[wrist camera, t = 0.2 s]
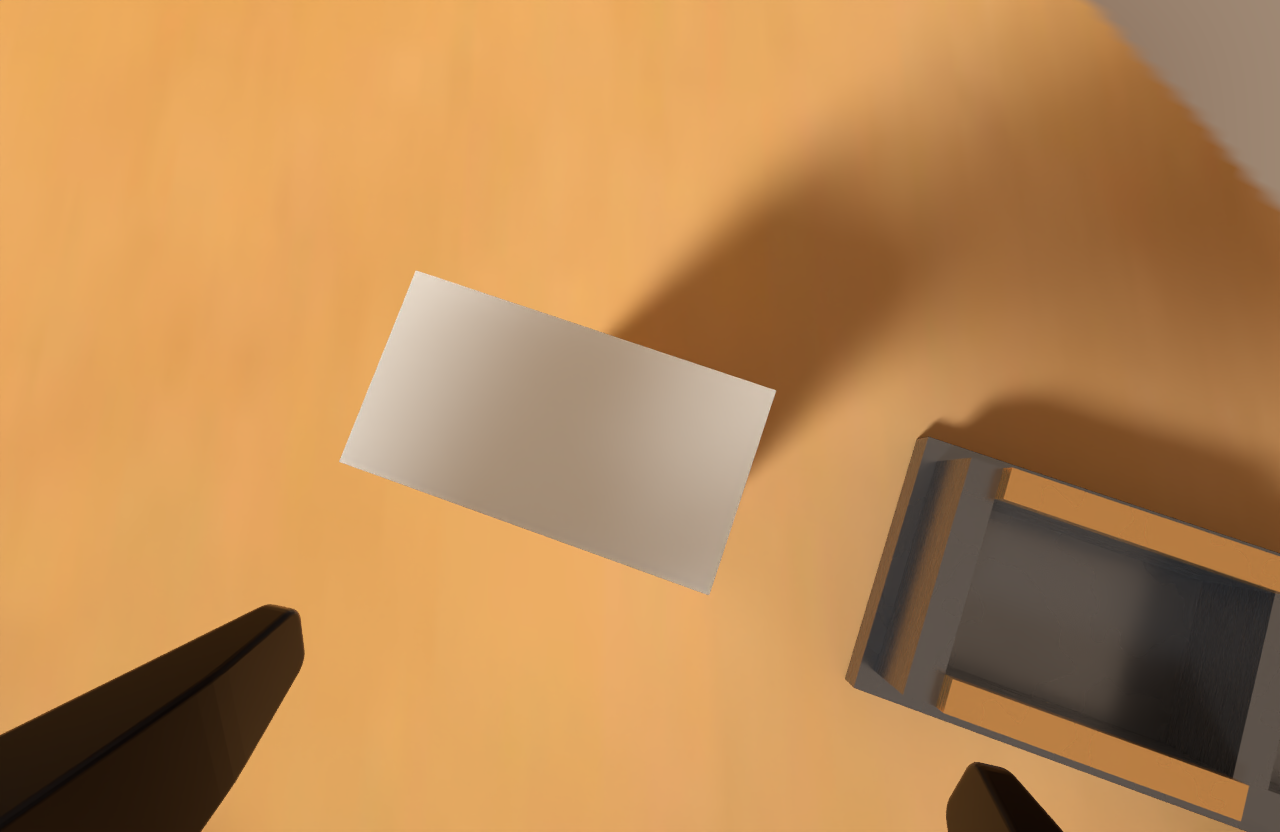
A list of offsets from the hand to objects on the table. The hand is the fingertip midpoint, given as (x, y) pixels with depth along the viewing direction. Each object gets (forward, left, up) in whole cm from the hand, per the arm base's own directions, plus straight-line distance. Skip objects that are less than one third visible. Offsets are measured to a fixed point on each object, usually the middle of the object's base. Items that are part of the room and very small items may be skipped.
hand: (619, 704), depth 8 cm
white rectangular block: (+4, 0, -15) cm, 15 cm away
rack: (-9, -16, -15) cm, 24 cm away
